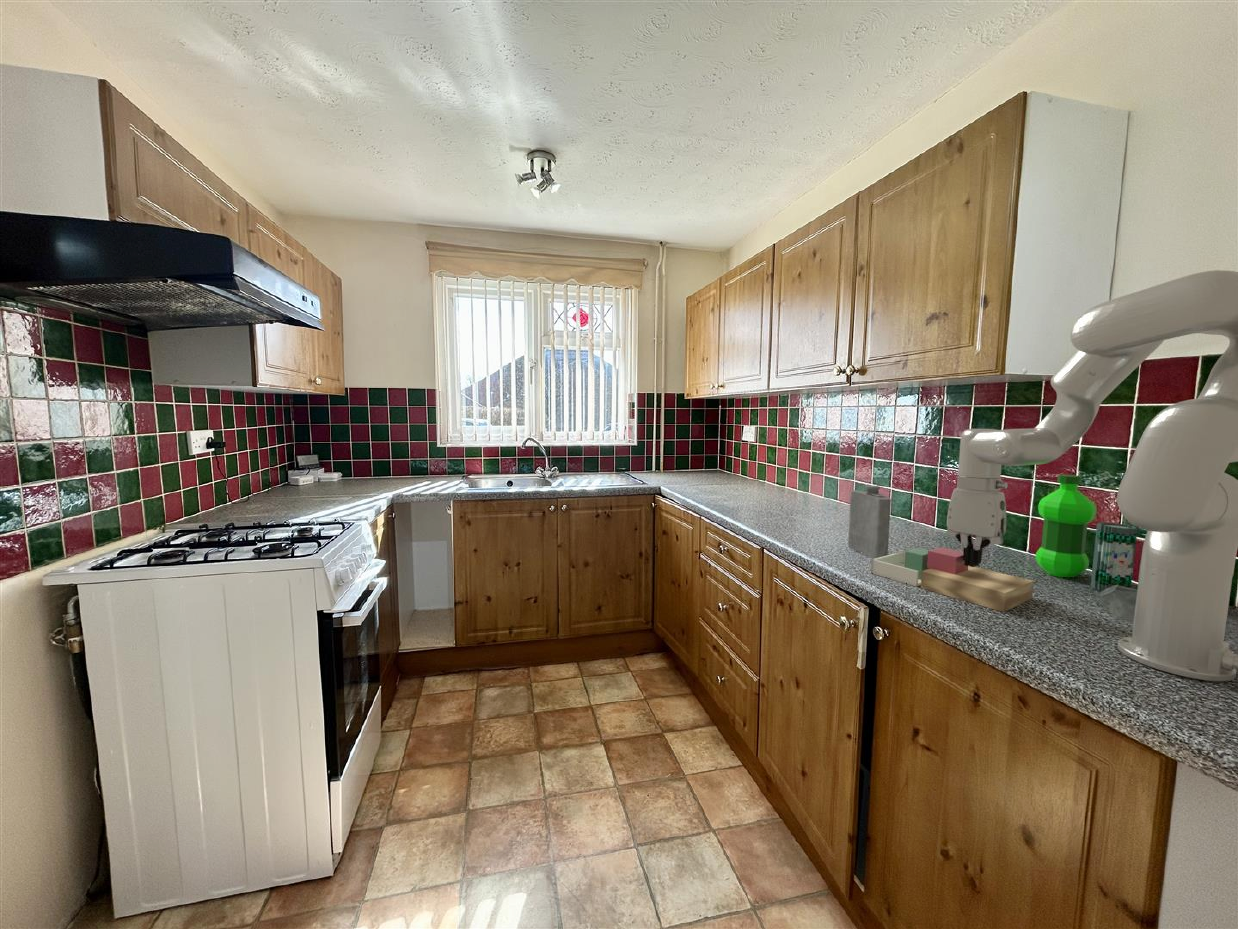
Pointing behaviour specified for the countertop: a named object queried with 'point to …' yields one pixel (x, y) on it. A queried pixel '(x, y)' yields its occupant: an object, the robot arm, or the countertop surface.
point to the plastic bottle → (1065, 529)
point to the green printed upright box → (1113, 555)
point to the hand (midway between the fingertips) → (971, 565)
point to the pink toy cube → (946, 560)
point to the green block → (916, 560)
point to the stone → (1119, 601)
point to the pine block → (980, 587)
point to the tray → (895, 569)
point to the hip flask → (869, 522)
